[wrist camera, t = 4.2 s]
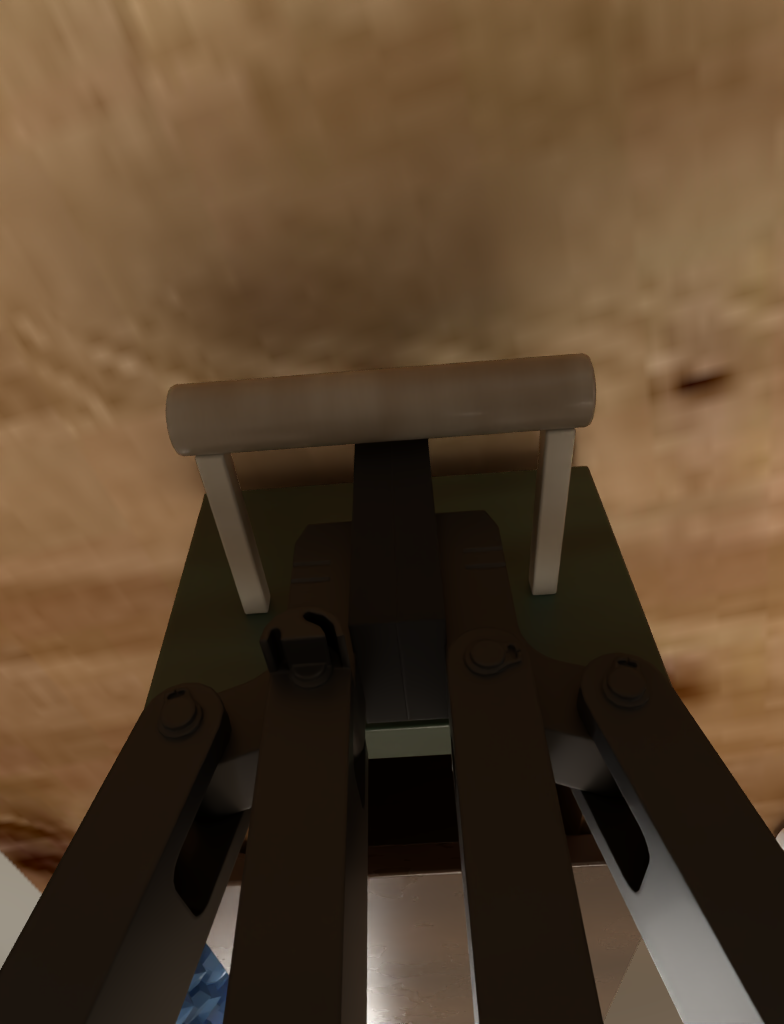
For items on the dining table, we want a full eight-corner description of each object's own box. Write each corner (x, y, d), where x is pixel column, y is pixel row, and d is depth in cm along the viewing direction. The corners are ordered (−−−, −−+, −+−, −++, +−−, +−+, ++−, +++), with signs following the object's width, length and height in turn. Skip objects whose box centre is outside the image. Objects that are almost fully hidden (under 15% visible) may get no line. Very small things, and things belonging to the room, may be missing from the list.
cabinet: (227, 586, 25) (164, 888, 17) (583, 563, 25) (678, 860, 17) (295, 788, 34) (273, 1039, 27) (551, 774, 34) (603, 1024, 26)
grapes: (92, 767, 33) (-16, 1097, 24) (233, 756, 32) (179, 1087, 23) (170, 870, 40) (111, 1149, 31) (285, 862, 40) (259, 1142, 31)
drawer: (139, 293, 17) (2, 525, 11) (617, 255, 16) (768, 471, 10) (283, 736, 30) (260, 958, 24) (553, 720, 29) (601, 942, 23)
